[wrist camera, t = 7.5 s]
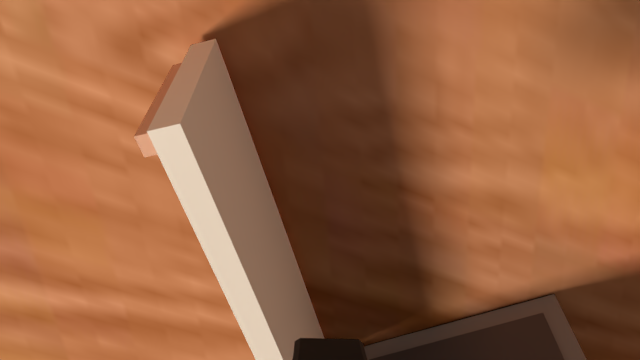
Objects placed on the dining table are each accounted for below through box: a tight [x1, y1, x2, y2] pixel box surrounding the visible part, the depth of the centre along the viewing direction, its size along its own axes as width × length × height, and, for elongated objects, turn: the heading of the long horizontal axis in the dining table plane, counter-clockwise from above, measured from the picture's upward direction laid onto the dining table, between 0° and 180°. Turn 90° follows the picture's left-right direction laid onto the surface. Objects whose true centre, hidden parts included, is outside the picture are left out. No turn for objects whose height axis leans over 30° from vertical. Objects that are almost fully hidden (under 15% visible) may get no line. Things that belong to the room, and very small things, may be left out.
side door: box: [134, 39, 324, 360], centre depth 19 cm, size 15×1×6 cm, turn 14°
